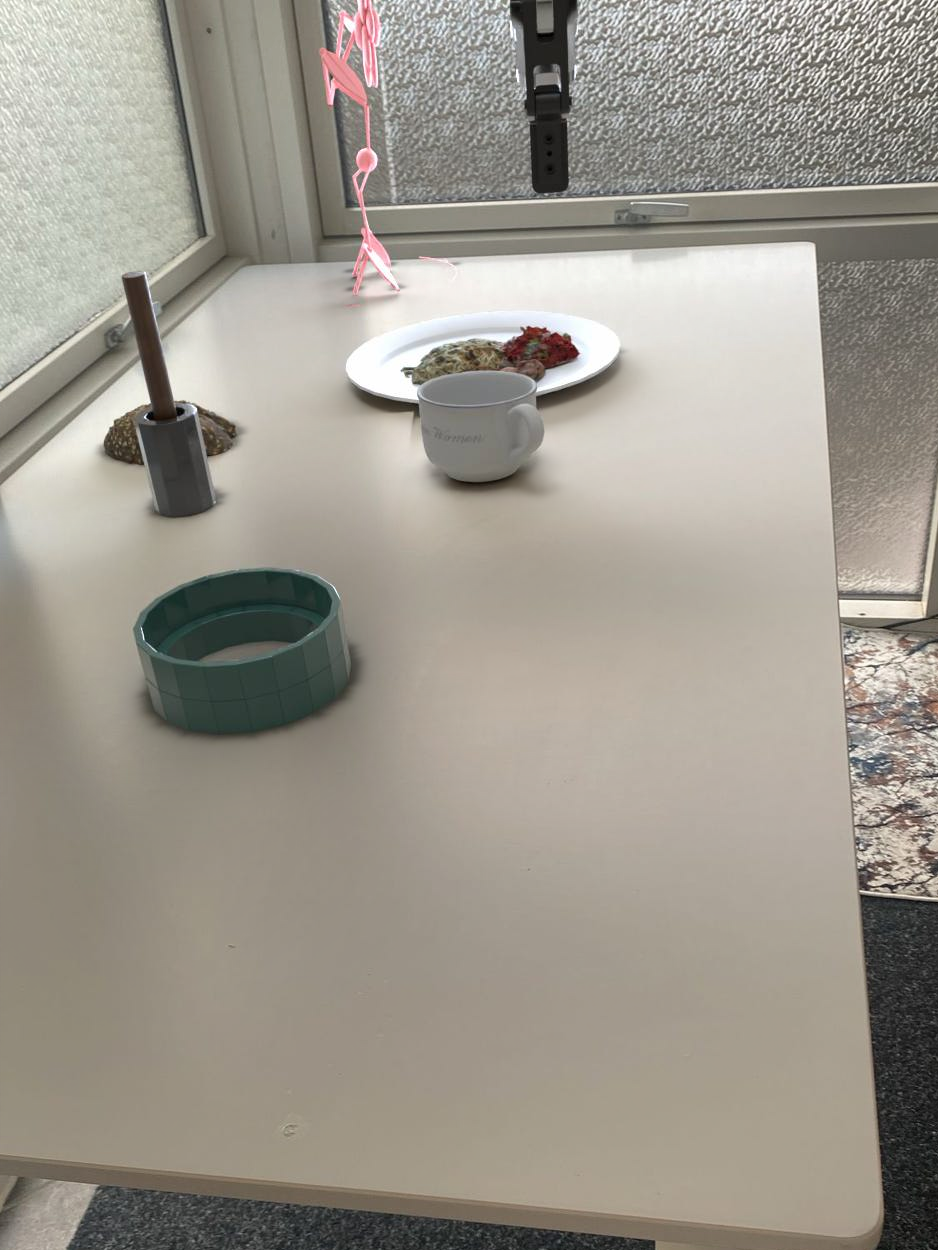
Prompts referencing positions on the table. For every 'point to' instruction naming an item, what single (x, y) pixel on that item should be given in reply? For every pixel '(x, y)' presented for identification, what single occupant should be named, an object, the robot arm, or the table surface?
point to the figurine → (367, 39)
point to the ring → (237, 616)
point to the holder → (176, 462)
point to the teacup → (479, 423)
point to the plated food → (484, 351)
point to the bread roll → (126, 444)
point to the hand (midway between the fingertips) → (549, 176)
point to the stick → (149, 345)
